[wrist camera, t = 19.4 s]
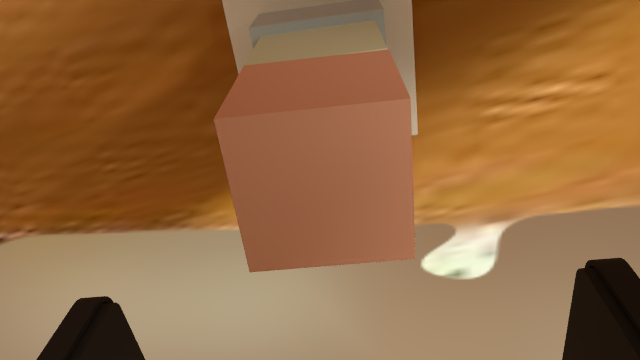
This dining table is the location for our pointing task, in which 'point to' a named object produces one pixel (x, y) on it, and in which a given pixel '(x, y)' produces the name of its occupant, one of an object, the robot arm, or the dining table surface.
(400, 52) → the plate
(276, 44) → the brick sage
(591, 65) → the dining table surface
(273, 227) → the brick terracotta
